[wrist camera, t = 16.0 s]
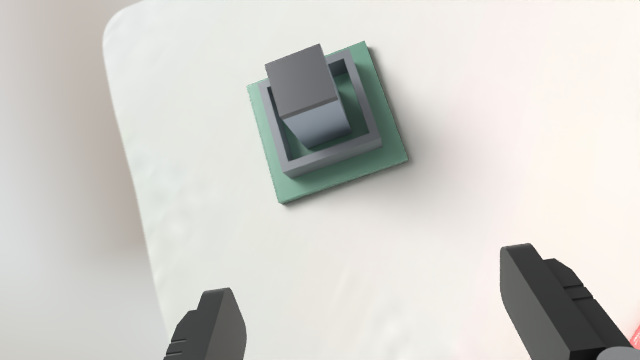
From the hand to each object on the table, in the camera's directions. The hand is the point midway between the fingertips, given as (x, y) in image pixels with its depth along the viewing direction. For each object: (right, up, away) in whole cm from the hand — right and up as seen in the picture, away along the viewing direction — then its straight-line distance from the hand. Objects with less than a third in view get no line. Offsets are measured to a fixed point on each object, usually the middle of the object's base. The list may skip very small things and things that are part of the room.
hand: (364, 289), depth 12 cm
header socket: (-1, +8, +20) cm, 22 cm away
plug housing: (-1, +8, +19) cm, 21 cm away
